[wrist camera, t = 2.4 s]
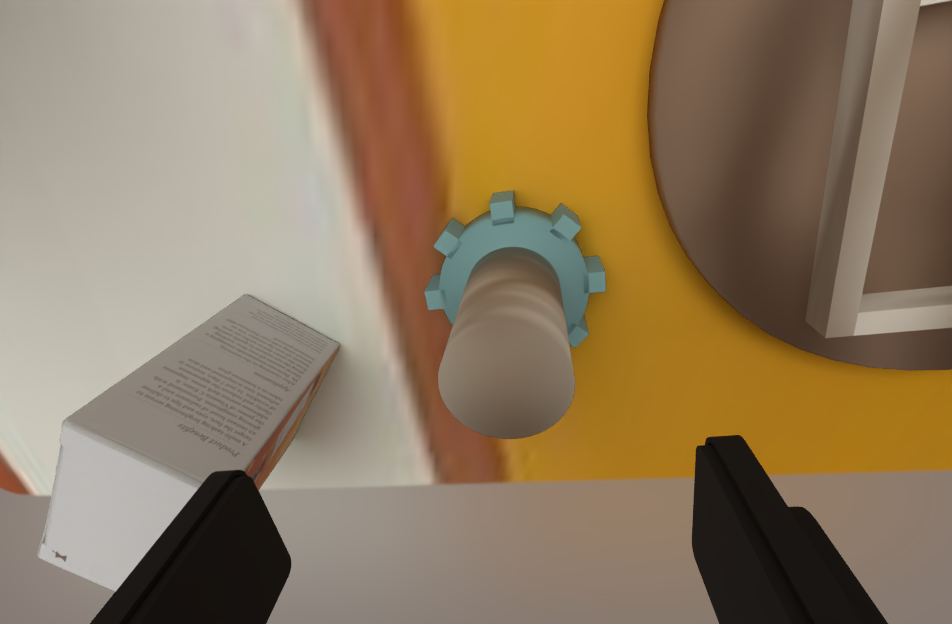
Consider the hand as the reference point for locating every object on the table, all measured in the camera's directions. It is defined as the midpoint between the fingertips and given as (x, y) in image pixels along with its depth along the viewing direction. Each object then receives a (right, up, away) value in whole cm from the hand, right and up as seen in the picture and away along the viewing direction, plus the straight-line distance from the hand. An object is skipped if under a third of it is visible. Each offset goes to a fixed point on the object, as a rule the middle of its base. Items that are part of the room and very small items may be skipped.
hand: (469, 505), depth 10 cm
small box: (-11, +1, +16) cm, 20 cm away
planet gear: (+2, +6, +12) cm, 13 cm away
